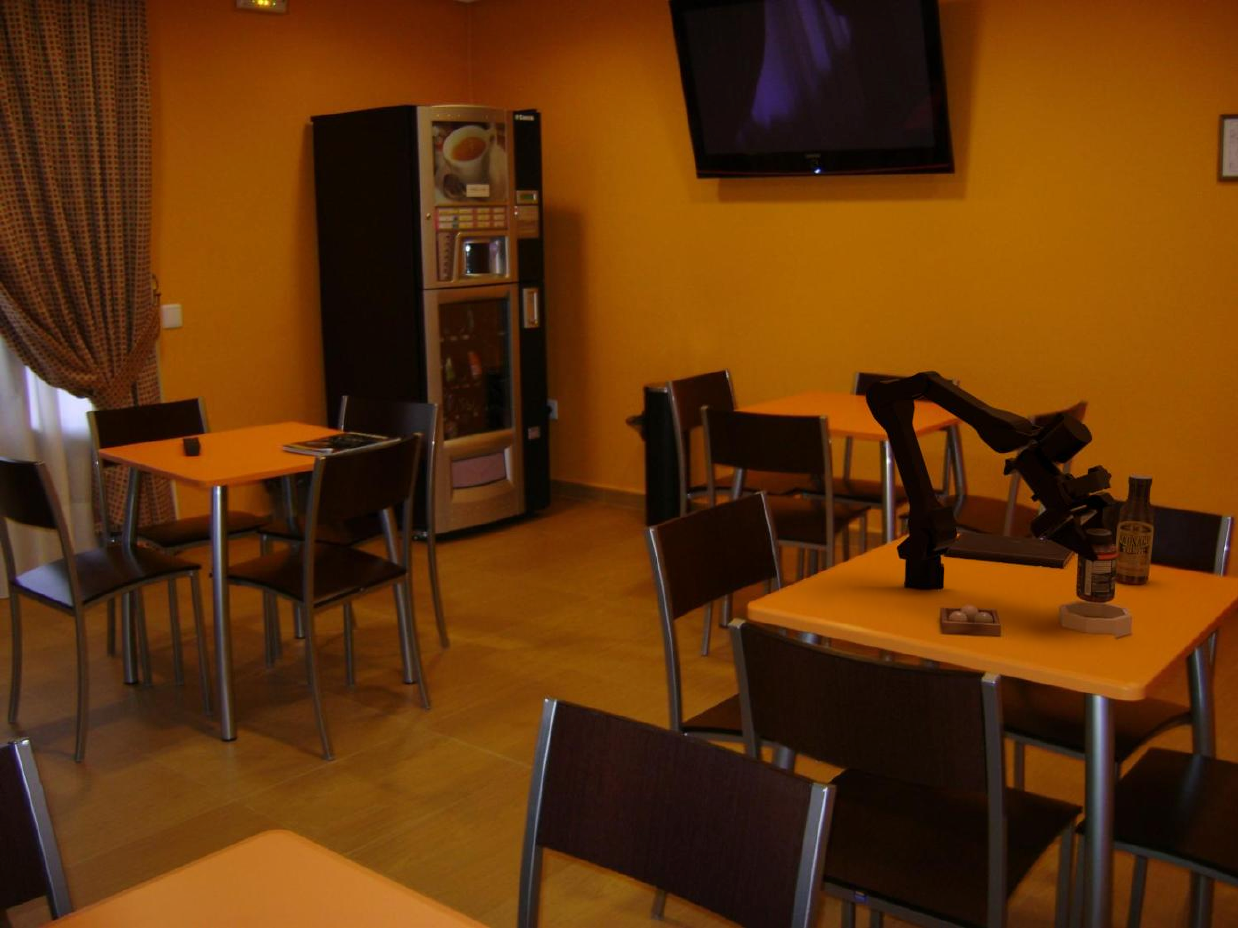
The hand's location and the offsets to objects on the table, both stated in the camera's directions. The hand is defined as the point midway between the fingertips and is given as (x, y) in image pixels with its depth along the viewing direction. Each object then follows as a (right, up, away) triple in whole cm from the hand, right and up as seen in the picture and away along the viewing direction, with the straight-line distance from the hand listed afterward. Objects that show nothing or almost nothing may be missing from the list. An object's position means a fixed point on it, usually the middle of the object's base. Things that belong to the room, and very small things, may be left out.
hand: (1105, 556), depth 205 cm
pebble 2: (-21, -11, +4) cm, 24 cm away
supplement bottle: (-1, -7, +2) cm, 8 cm away
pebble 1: (-24, -12, +1) cm, 26 cm away
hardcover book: (+1, -4, +52) cm, 52 cm away
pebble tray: (-21, -12, +2) cm, 25 cm away
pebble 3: (-20, -12, 0) cm, 23 cm away
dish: (-1, -12, +3) cm, 12 cm away
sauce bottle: (+17, -7, +31) cm, 35 cm away
